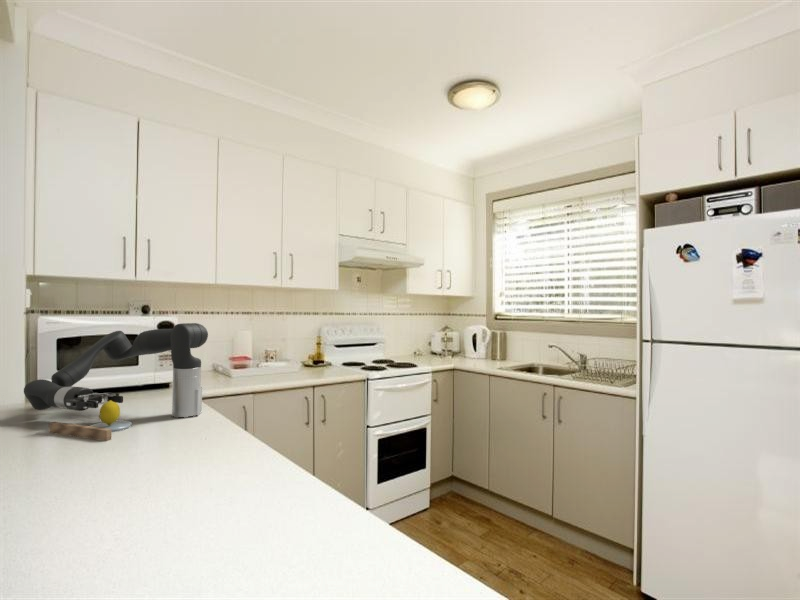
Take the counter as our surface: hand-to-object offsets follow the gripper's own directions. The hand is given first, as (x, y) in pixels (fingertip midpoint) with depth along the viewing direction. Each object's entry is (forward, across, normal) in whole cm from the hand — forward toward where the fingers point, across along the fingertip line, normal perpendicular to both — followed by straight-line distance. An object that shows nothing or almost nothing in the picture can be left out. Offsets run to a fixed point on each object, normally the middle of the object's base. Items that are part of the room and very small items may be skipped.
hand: (110, 402), depth 144 cm
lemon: (0, 0, +8) cm, 8 cm away
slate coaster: (0, 0, +8) cm, 8 cm away
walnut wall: (0, -10, +8) cm, 13 cm away
